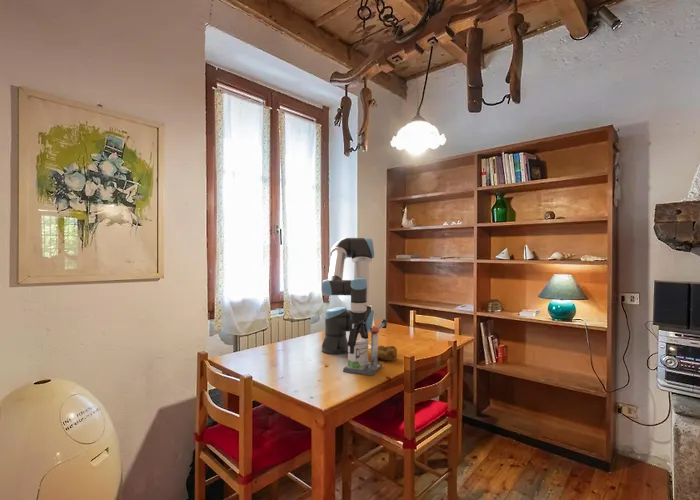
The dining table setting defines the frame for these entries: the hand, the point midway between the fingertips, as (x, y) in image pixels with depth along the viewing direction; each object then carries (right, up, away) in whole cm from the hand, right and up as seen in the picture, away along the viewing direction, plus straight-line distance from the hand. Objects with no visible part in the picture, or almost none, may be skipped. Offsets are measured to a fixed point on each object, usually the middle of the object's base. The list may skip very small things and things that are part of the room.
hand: (358, 356), depth 175 cm
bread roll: (+14, -6, +14) cm, 21 cm away
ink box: (0, -4, 0) cm, 4 cm away
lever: (+10, +11, +3) cm, 15 cm away
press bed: (+2, -6, -1) cm, 6 cm away
